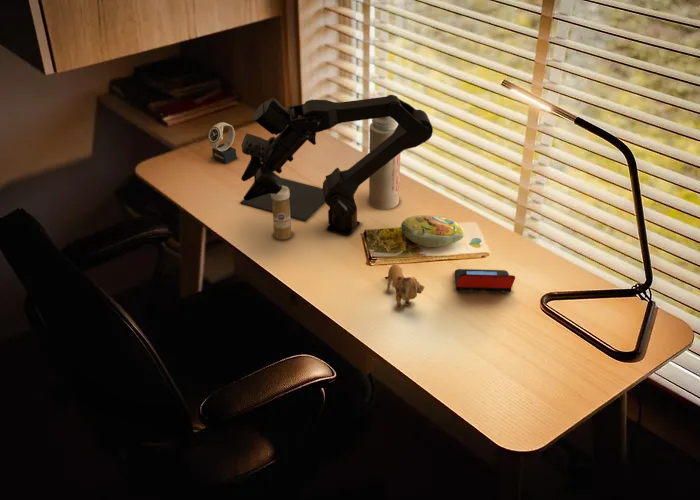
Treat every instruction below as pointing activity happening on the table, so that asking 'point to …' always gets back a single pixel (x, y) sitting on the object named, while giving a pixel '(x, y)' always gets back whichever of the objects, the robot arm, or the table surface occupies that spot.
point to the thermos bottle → (384, 167)
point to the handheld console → (483, 280)
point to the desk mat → (294, 200)
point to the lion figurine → (403, 286)
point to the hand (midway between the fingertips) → (243, 189)
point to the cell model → (431, 230)
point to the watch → (224, 150)
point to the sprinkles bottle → (281, 213)
